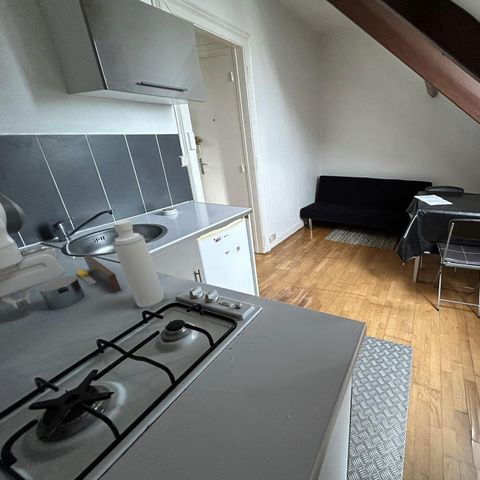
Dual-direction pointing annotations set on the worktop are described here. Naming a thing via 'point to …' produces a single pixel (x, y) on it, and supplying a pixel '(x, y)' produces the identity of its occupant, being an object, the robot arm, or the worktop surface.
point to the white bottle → (137, 265)
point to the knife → (86, 276)
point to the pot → (62, 292)
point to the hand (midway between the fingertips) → (23, 305)
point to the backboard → (102, 273)
